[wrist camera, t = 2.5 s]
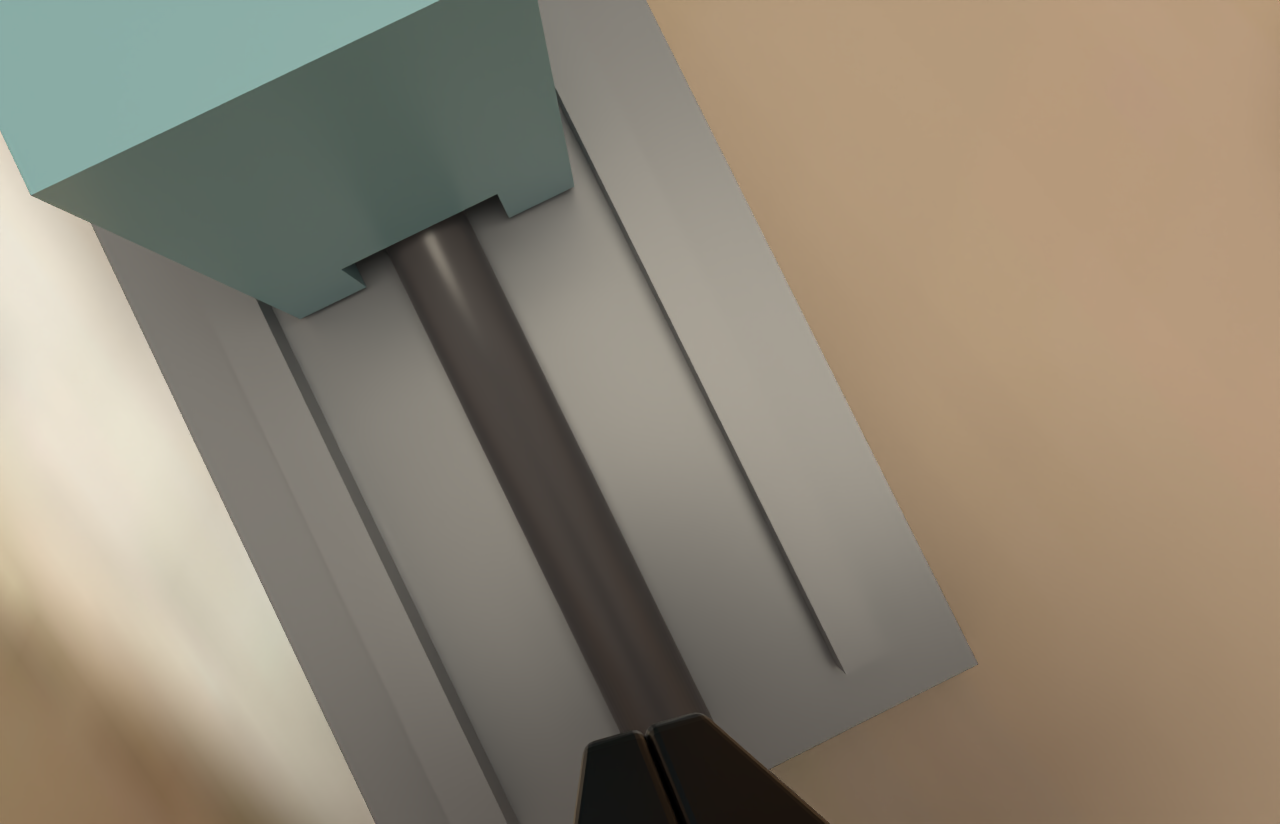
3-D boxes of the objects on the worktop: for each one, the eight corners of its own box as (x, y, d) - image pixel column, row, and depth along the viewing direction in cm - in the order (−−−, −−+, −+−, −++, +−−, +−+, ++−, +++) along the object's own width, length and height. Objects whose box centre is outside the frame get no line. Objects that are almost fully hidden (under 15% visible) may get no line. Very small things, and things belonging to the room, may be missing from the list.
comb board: (960, 655, 20) (1097, 730, 14) (440, 916, 20) (360, 1104, 14) (315, -636, 22) (194, -1062, 16) (-188, -406, 21) (-508, -750, 15)
